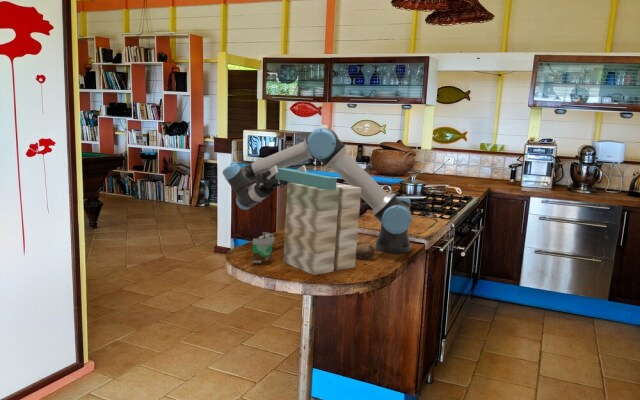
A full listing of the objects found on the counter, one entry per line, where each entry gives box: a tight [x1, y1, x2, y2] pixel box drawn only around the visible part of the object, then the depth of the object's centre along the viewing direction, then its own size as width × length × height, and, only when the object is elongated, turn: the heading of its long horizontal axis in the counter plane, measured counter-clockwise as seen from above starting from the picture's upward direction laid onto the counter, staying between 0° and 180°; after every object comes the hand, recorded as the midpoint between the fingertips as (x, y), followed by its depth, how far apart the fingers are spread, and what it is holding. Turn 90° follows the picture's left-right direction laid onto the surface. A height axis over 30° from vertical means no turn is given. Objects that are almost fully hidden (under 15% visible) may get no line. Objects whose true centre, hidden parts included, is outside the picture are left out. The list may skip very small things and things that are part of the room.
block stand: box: [282, 182, 361, 276], centre depth 186 cm, size 18×20×30 cm
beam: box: [274, 167, 338, 190], centre depth 183 cm, size 30×4×4 cm, turn 41°
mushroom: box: [356, 242, 375, 261], centre depth 202 cm, size 8×8×6 cm
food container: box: [252, 231, 276, 266], centre depth 186 cm, size 12×6×10 cm, turn 168°
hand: (291, 168), depth 189 cm, fingers open, 13 cm apart
